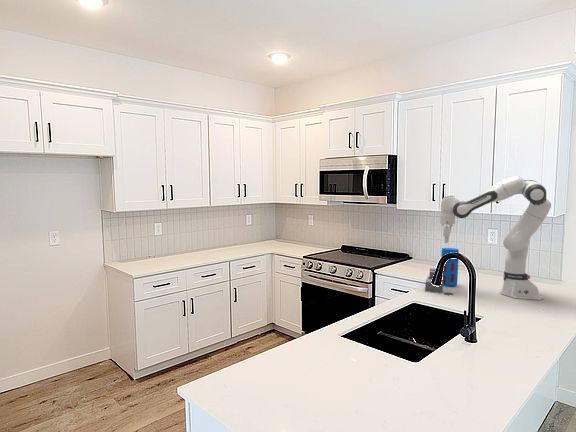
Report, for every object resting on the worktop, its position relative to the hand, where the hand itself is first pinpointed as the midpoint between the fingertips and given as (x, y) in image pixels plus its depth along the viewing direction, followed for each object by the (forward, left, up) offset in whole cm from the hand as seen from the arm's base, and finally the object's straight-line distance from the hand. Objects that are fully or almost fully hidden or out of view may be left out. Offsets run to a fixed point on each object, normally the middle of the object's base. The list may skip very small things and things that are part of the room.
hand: (446, 242), depth 255 cm
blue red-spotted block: (-2, -13, -31) cm, 34 cm away
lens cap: (-3, +12, -32) cm, 34 cm away
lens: (+7, +8, -25) cm, 27 cm away
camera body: (+6, +7, -31) cm, 32 cm away
